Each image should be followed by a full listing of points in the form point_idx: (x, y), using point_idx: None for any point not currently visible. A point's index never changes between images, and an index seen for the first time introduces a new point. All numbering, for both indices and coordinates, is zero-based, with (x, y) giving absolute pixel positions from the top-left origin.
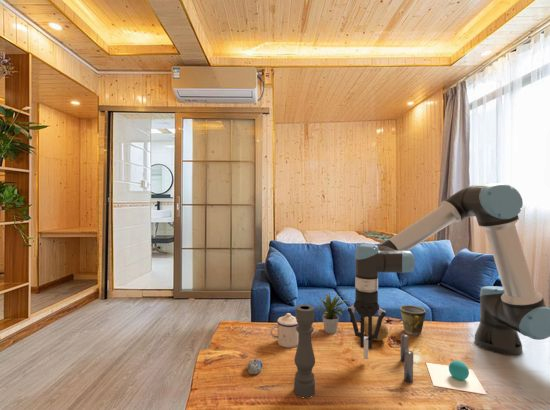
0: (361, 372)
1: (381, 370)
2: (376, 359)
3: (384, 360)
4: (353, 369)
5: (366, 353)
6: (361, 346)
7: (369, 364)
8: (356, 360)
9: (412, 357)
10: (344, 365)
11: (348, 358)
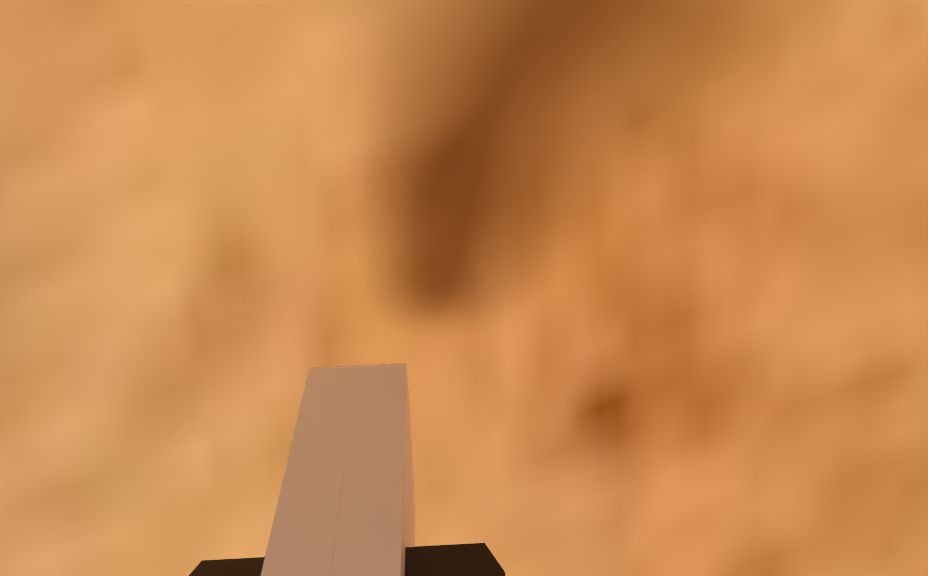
0: (427, 21)
1: (64, 236)
2: (214, 551)
3: (82, 564)
4: (591, 82)
5: (335, 434)
6: (470, 564)
7: (308, 363)
8: (544, 413)
9: None
10: (766, 170)
11: (686, 429)
